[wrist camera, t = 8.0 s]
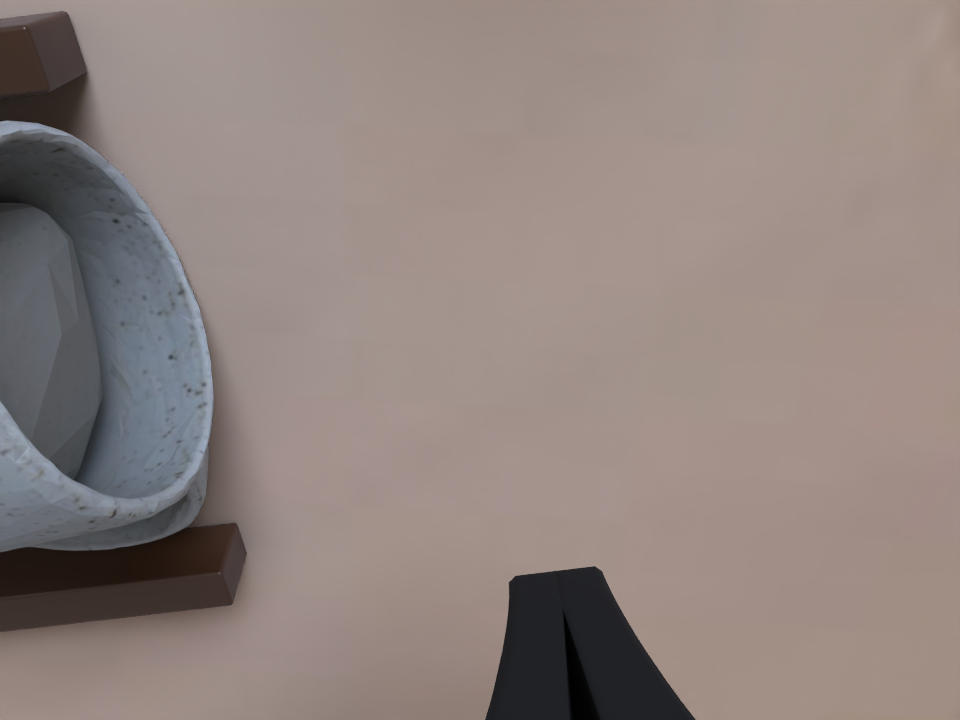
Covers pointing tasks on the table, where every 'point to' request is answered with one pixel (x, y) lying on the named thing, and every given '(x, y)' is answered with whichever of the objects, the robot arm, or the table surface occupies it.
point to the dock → (125, 570)
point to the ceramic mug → (93, 356)
